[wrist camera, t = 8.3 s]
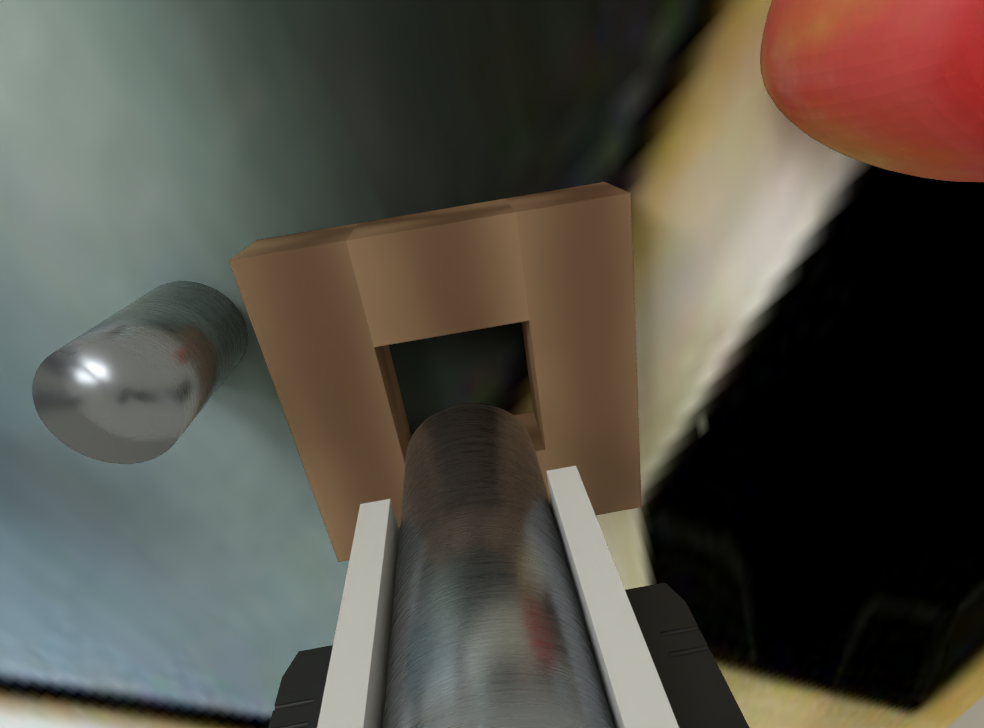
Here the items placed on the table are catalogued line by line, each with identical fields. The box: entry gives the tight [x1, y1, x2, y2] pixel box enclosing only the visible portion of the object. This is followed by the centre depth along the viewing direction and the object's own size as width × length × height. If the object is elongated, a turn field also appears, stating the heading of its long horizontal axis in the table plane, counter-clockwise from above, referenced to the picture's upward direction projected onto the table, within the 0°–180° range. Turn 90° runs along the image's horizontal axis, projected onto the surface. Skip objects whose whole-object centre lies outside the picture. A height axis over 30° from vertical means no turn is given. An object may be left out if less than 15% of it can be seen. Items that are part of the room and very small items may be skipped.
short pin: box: [32, 281, 247, 464], centre depth 18 cm, size 4×4×6 cm
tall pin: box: [382, 403, 615, 728], centre depth 11 cm, size 4×4×14 cm
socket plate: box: [229, 182, 641, 562], centre depth 21 cm, size 13×13×3 cm
